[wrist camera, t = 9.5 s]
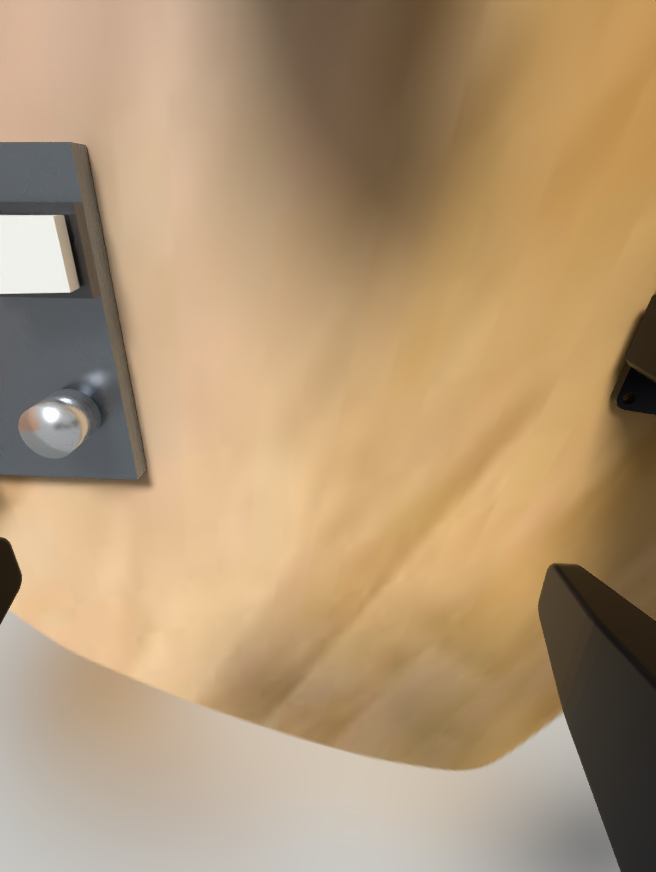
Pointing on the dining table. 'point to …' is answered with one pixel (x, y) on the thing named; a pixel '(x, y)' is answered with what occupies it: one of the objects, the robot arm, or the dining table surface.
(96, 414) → the metal button
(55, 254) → the block
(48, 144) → the panel
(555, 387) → the dining table surface
